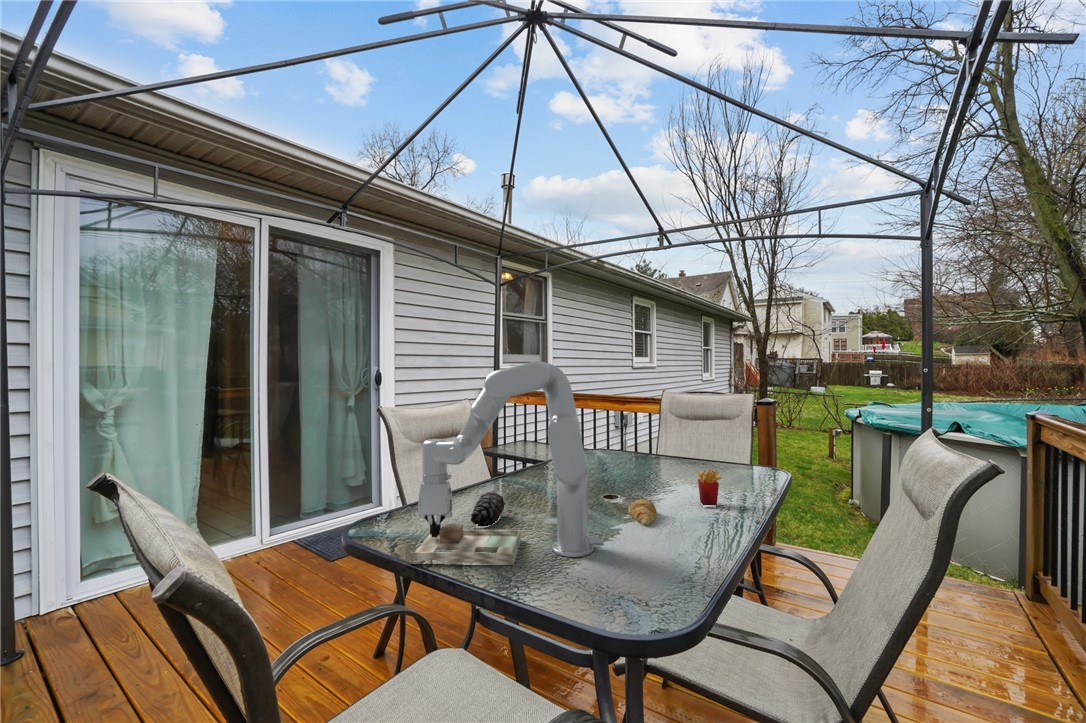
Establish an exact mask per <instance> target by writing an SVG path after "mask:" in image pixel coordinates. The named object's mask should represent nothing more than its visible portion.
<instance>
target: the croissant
mask: <svg viewBox="0 0 1086 723" xmlns="http://www.w3.org/2000/svg"><path fill="white" fill-rule="evenodd" d="M627 512H628V514H629V515H630V516H631V518H633V519H634V520H635V519H636V520H635V521H637V522H638V523H640V524H641V525H643V526H648V525H651V524H652V523H653V522H655V520H656V519H657V517H658V513H657V512H658V511H657V509H656V506H655V504H654V503H653V502H652V501H651V500H650V499H647V498H645V497H644V498H639V499H635V500H634V501H632V502H631V504H630V505H629V507H628V509H627ZM655 518H656V519H655ZM650 523H651V524H650Z"/></svg>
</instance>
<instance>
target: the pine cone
mask: <svg viewBox="0 0 1086 723" xmlns="http://www.w3.org/2000/svg"><path fill="white" fill-rule="evenodd" d="M505 505H506V501H505V500H504V497H503V495H500V494H498V493H497V492H495V491H487V492H485V493H483V494H481V495H480V497H479V498H478V500H477V501H476V504H475V506H474V508H473V510H472V512H471V515H470V522H472V523H473V524H474V525H475V524H478V526H488V525H492V524H493V523H495V521H497V520H498V518H499V516H501V514H502V513H503V512H504V509H505Z"/></svg>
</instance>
